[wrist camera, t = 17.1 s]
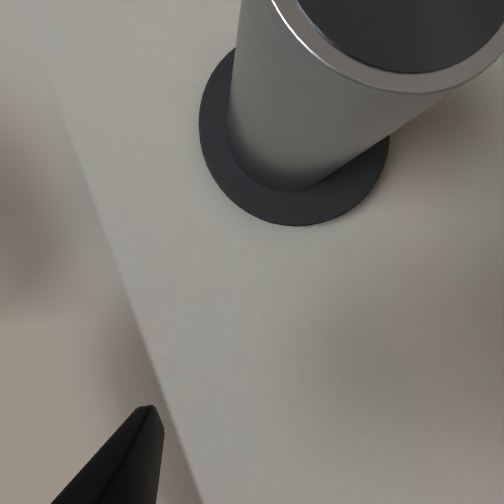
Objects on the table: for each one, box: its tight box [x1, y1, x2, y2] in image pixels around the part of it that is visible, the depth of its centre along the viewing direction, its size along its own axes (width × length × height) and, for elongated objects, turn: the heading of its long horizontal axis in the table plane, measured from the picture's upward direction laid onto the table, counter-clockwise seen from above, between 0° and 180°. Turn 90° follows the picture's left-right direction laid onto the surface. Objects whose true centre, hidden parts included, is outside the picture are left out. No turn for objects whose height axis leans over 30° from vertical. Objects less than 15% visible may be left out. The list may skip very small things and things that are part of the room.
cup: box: [226, 0, 504, 191], centre depth 11 cm, size 9×6×10 cm
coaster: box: [199, 47, 390, 226], centre depth 17 cm, size 10×10×1 cm
